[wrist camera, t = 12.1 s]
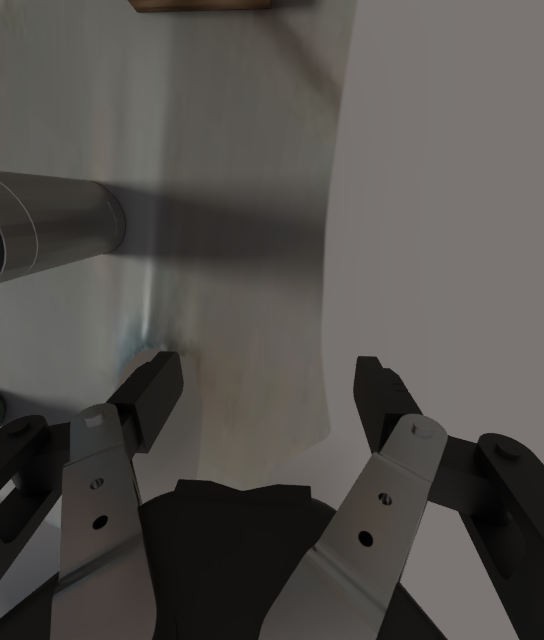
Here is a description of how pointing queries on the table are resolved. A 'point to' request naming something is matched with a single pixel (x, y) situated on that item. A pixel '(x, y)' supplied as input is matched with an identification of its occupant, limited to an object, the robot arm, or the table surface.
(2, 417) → the coffee jar
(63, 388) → the table surface
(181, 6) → the wooden crate
